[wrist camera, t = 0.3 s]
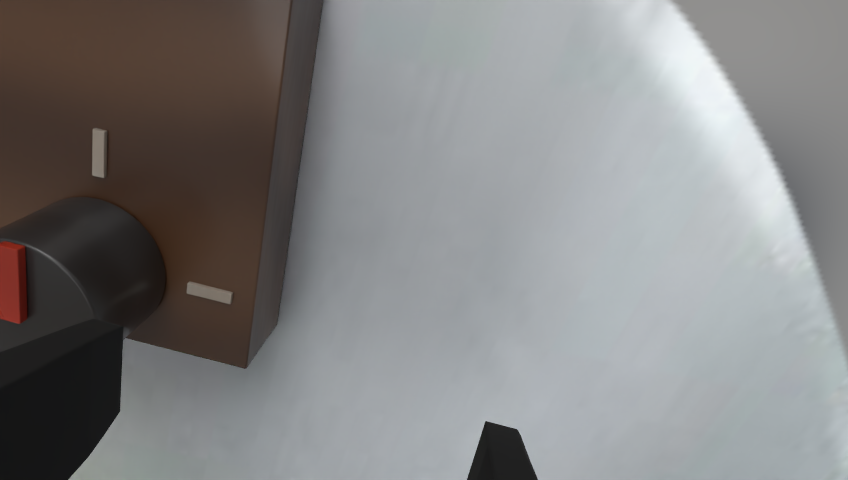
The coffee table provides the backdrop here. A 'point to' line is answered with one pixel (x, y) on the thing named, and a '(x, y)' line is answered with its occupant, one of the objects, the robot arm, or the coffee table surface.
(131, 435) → the coffee table surface
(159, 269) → the knob
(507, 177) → the coffee table surface
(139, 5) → the dial panel
